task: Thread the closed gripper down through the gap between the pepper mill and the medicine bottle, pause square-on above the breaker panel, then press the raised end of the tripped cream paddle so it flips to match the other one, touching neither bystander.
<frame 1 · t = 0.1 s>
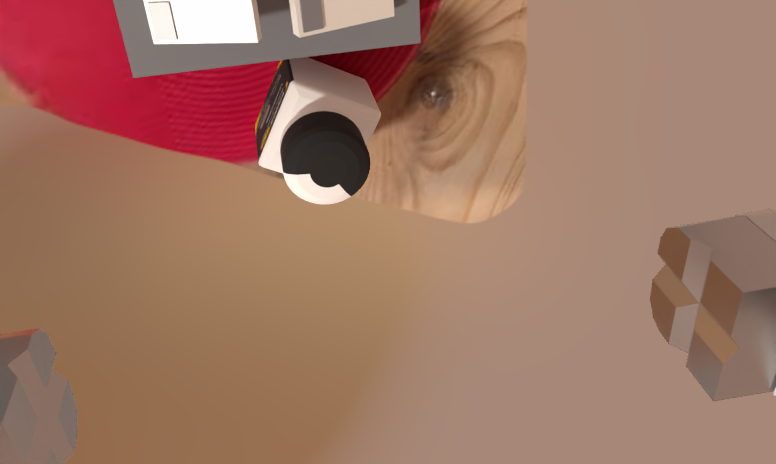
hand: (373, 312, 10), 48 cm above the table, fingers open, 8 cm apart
medicine bottle: (310, 101, 59), on the table
paddle tripped: (203, 18, 46), point 8 cm above the table, hinge at 18.0°
paddle on: (343, 2, 47), point 8 cm above the table, hinge at -18.0°
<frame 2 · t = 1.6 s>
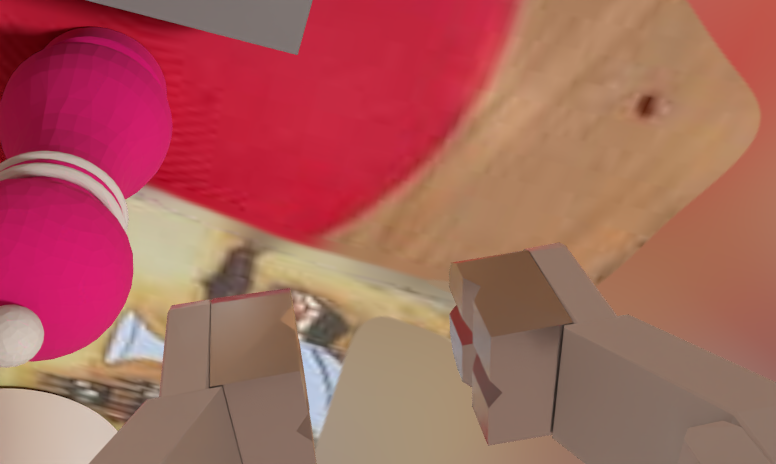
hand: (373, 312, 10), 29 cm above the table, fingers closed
pepper mill: (102, 86, 36), on the table
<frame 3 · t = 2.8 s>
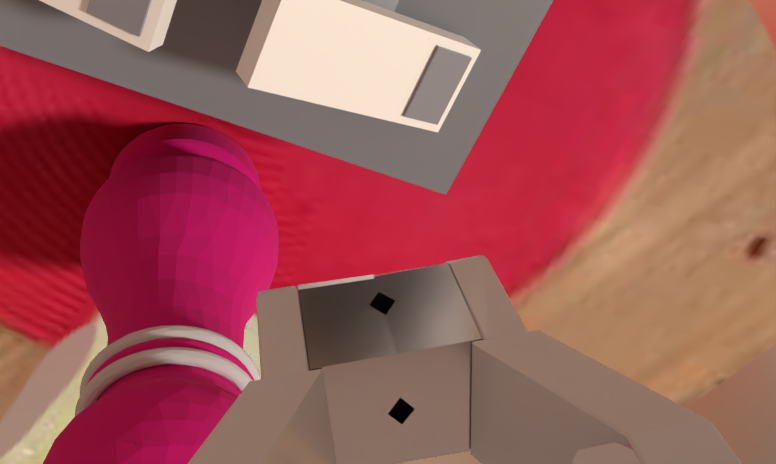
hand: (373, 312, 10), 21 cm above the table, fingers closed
paddle tripped: (366, 60, 21), point 8 cm above the table, hinge at 18.0°
pepper mill: (186, 186, 31), on the table
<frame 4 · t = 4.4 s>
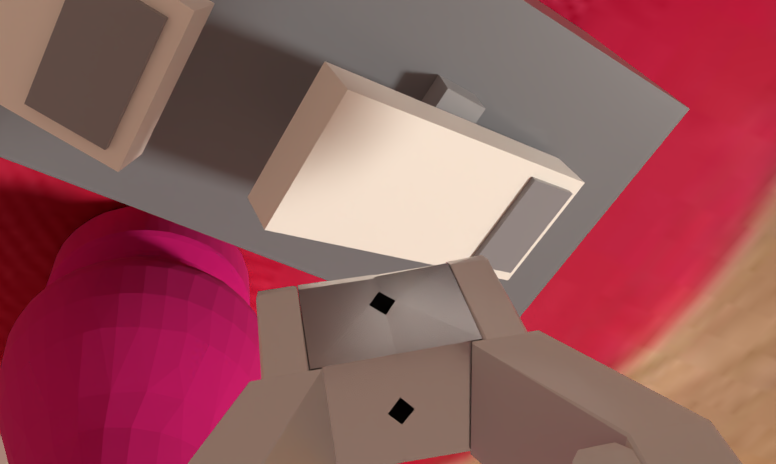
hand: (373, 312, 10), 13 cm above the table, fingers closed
paddle tripped: (433, 191, 15), point 8 cm above the table, hinge at 18.0°
pepper mill: (154, 279, 24), on the table
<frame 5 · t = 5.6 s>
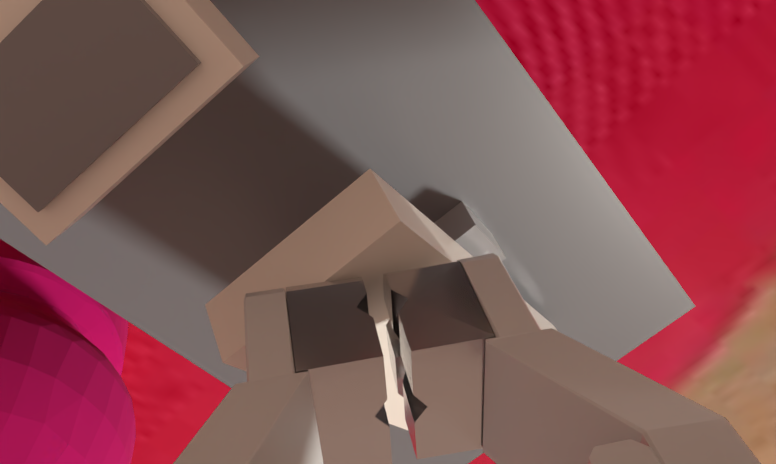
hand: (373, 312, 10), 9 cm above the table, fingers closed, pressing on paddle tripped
breaker panel: (219, 6, 16), on the table
paddle tripped: (426, 343, 12), point 8 cm above the table, hinge at 17.9°, touching gripper
pepper mill: (6, 312, 19), on the table
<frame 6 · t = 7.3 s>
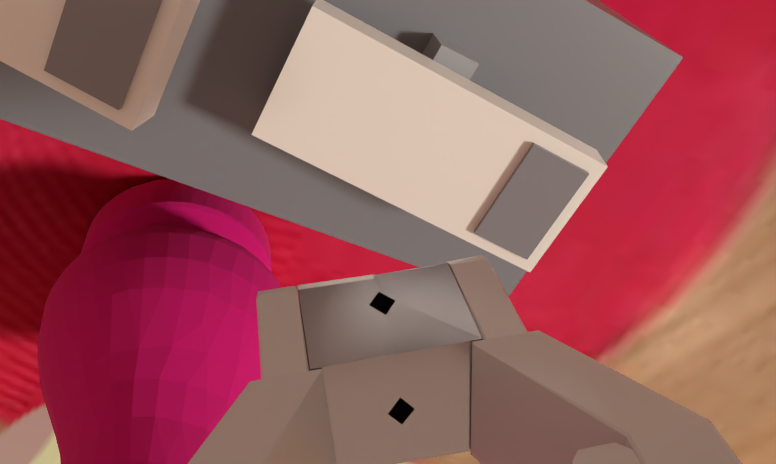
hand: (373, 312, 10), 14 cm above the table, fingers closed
paddle tripped: (429, 143, 16), point 8 cm above the table, hinge at -12.4°
pepper mill: (180, 251, 26), on the table
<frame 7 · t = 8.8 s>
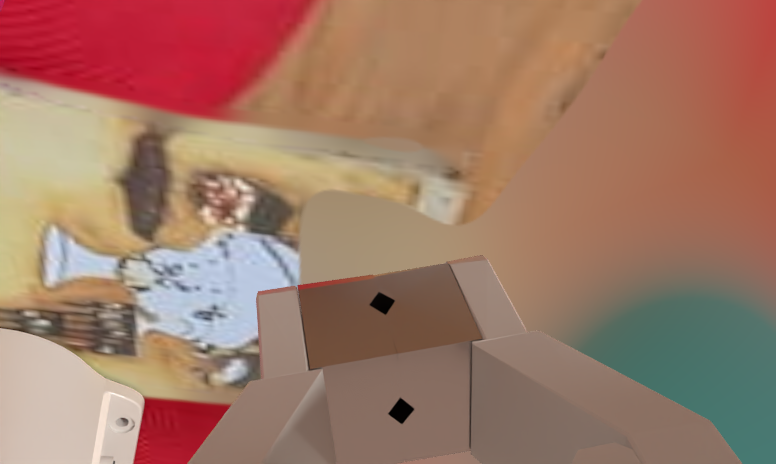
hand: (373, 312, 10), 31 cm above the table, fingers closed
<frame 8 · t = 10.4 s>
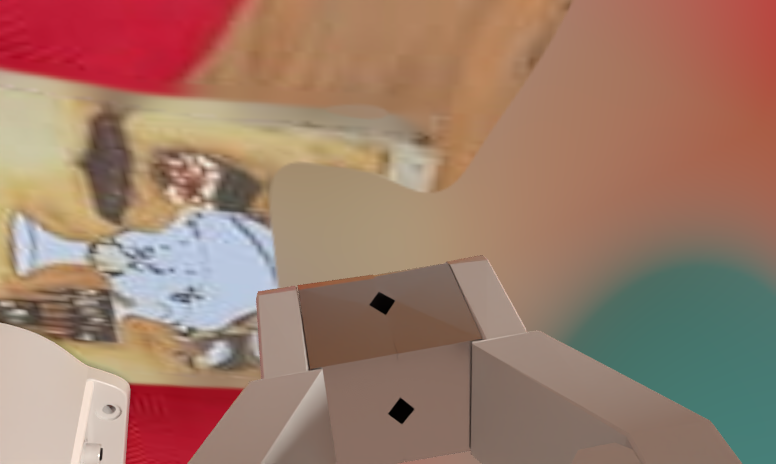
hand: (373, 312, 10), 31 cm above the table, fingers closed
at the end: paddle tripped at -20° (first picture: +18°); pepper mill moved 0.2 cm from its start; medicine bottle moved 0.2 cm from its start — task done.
